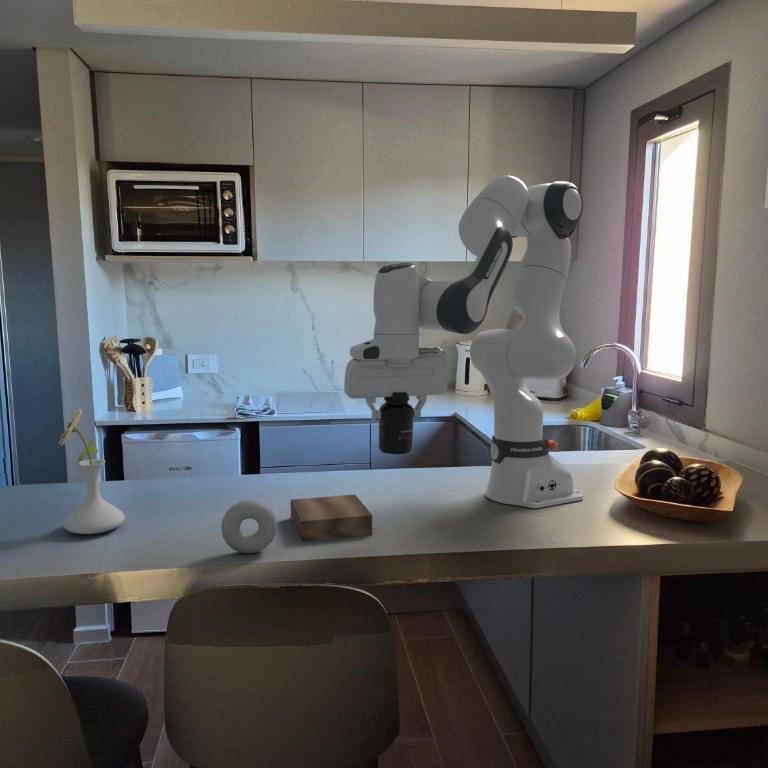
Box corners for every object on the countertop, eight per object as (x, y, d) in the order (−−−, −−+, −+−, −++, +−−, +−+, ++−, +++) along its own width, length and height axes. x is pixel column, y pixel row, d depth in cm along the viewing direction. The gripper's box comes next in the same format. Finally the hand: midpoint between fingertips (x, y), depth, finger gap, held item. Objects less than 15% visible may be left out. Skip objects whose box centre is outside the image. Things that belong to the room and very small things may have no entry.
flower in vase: (86, 518, 141) (79, 400, 138) (136, 521, 139) (130, 402, 136) (45, 540, 128) (36, 411, 125) (100, 544, 127) (93, 413, 123)
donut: (221, 558, 120) (219, 504, 119) (222, 551, 124) (220, 498, 122) (277, 554, 122) (276, 501, 121) (277, 547, 126) (276, 495, 124)
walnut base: (355, 512, 146) (355, 494, 145) (372, 534, 133) (372, 515, 132) (290, 518, 142) (290, 499, 141) (301, 541, 129) (301, 521, 128)
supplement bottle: (409, 456, 129) (410, 394, 127) (375, 454, 130) (375, 392, 128) (415, 447, 135) (416, 388, 134) (382, 446, 137) (383, 387, 135)
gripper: (440, 345, 136) (440, 413, 138) (341, 348, 130) (342, 418, 132) (452, 348, 130) (451, 418, 132) (349, 351, 124) (350, 424, 126)
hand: (396, 418), depth 132 cm, fingers closed on supplement bottle, 7 cm apart
